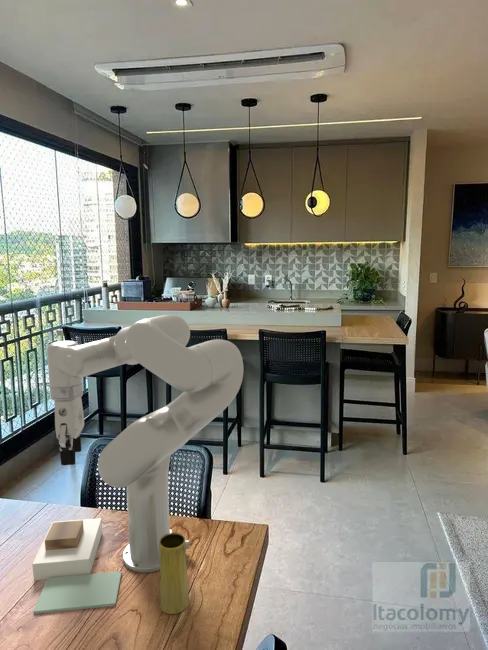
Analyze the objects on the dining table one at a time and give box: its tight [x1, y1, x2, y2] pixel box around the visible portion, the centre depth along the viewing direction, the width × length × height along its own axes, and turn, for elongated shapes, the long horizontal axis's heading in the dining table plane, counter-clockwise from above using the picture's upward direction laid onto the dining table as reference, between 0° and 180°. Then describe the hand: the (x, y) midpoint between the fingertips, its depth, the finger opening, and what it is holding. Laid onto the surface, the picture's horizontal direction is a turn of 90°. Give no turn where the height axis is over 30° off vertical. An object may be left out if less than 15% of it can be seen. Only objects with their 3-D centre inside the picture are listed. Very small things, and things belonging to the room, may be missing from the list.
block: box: [44, 519, 84, 550], centre depth 109 cm, size 7×7×2 cm
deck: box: [31, 517, 103, 581], centre depth 110 cm, size 12×16×4 cm
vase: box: [158, 532, 190, 615], centre depth 94 cm, size 6×6×14 cm
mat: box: [32, 570, 122, 615], centre depth 98 cm, size 16×10×1 cm, turn 97°
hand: (71, 457), depth 118 cm, fingers open, 6 cm apart
